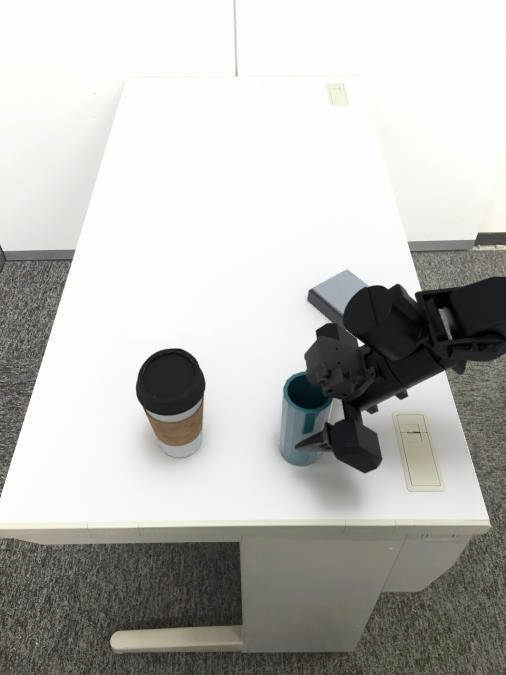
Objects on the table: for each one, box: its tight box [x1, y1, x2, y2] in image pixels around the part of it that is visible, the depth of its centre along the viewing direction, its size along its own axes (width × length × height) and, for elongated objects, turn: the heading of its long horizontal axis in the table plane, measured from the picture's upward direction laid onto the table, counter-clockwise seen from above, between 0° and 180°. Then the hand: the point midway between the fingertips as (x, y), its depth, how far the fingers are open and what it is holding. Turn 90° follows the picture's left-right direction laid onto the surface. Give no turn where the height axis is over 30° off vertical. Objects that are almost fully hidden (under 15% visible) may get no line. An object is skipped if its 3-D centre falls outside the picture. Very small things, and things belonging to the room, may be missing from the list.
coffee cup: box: [135, 347, 207, 459], centre depth 68 cm, size 8×8×15 cm
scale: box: [306, 269, 371, 331], centre depth 90 cm, size 9×9×3 cm
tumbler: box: [278, 370, 335, 467], centre depth 68 cm, size 6×6×13 cm
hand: (293, 420), depth 68 cm, fingers open, 8 cm apart
